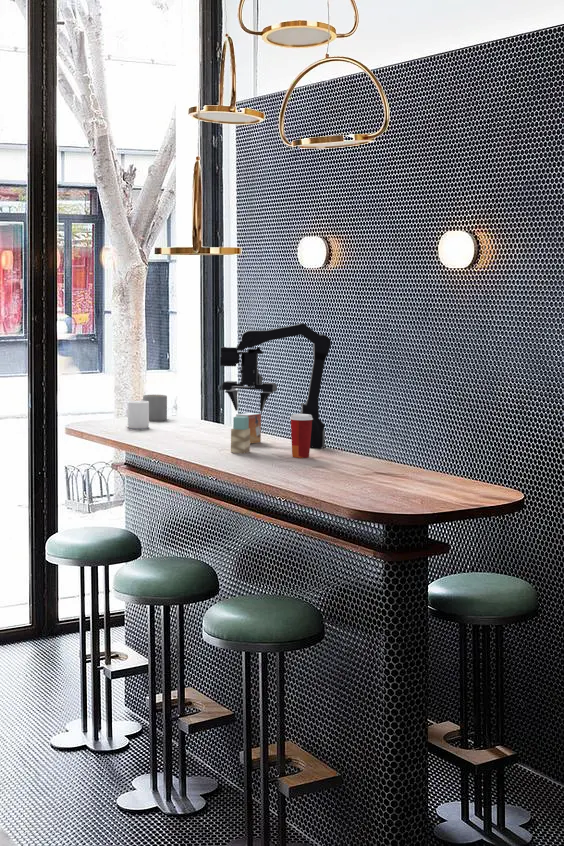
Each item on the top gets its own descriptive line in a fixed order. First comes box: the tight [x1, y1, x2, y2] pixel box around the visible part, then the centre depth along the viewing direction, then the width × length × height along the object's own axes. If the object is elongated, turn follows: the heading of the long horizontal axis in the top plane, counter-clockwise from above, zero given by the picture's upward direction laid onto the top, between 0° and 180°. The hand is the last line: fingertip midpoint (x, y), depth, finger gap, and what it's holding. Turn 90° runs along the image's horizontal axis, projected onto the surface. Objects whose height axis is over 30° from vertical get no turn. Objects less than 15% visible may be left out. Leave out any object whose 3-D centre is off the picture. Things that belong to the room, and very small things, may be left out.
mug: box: [126, 400, 150, 430], centre depth 424 cm, size 12×8×10 cm
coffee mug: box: [140, 394, 168, 422], centre depth 451 cm, size 13×10×10 cm
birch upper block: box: [230, 428, 250, 442], centre depth 364 cm, size 5×5×4 cm
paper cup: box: [289, 413, 313, 459], centre depth 355 cm, size 8×8×14 cm
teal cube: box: [232, 415, 249, 430], centre depth 363 cm, size 4×4×4 cm
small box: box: [235, 412, 262, 445], centre depth 386 cm, size 8×6×10 cm
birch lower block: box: [230, 440, 251, 454], centre depth 364 cm, size 5×5×4 cm
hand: (249, 411), depth 376 cm, fingers open, 9 cm apart
